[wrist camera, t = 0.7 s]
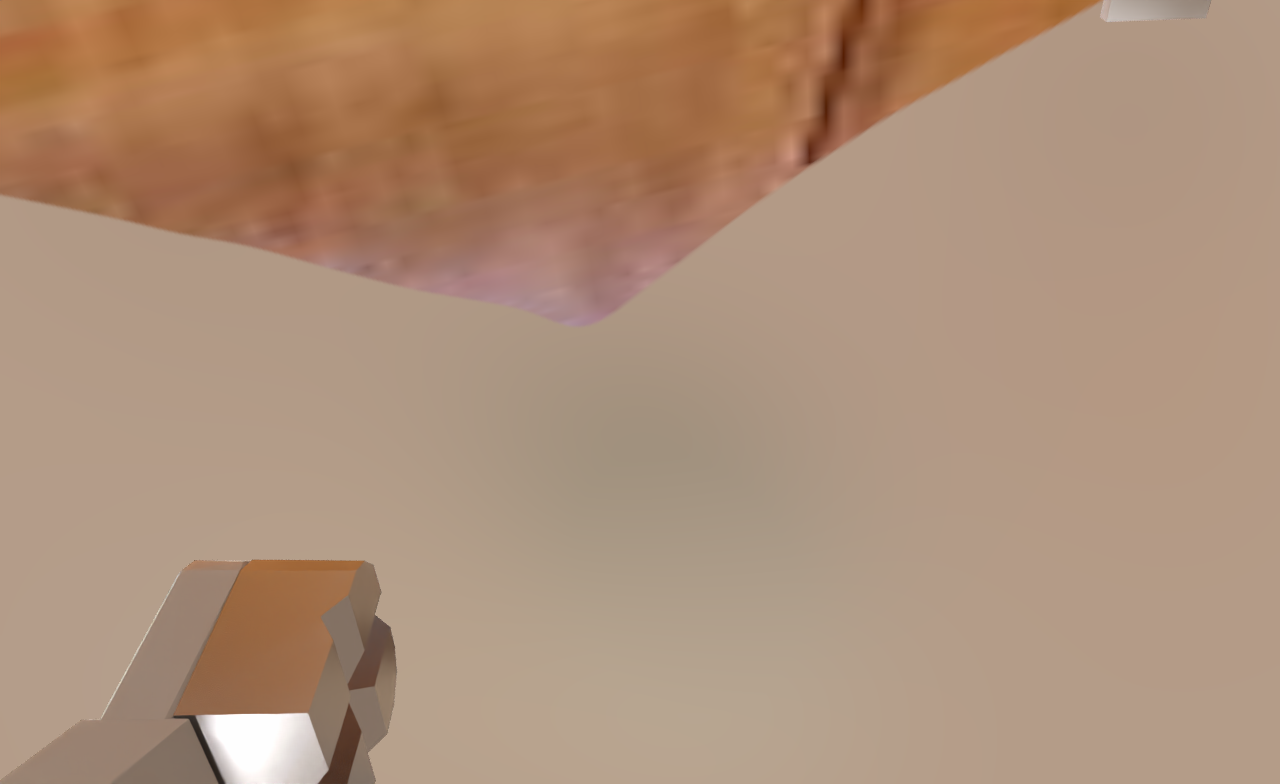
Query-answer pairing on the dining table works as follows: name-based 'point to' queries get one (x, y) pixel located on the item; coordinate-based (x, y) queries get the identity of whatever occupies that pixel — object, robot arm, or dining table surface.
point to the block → (1153, 9)
